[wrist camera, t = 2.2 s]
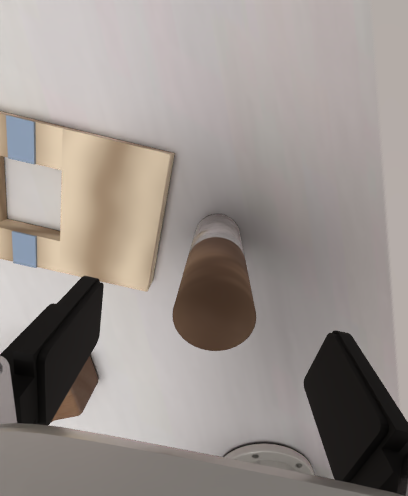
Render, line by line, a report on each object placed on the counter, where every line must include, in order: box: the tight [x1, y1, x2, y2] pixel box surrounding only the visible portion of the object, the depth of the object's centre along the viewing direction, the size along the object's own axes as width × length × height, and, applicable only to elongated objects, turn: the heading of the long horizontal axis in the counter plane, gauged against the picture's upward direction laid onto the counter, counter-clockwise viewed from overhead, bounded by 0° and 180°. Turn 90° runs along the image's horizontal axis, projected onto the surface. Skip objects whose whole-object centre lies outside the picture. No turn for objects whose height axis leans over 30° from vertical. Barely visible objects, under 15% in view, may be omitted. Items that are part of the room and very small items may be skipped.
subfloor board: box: [0, 111, 175, 292], centre depth 23 cm, size 16×12×2 cm
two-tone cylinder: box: [173, 214, 256, 351], centre depth 19 cm, size 4×4×12 cm
